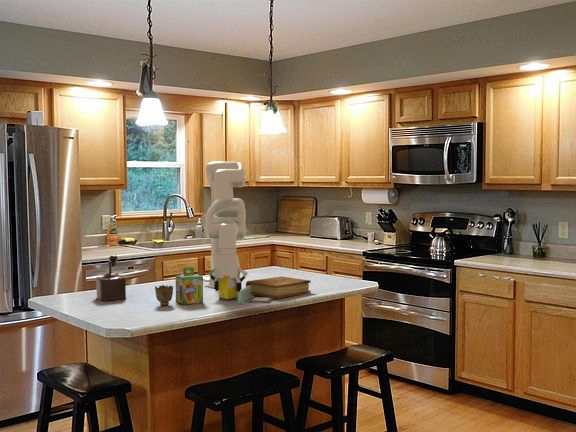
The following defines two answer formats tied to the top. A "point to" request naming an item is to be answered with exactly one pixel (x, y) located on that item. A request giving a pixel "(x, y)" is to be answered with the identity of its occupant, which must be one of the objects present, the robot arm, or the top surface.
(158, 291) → the cup
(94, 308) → the top surface
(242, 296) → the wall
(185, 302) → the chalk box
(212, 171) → the robot arm
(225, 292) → the supplement box
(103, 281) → the coffee grinder
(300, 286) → the diary
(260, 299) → the coaster
